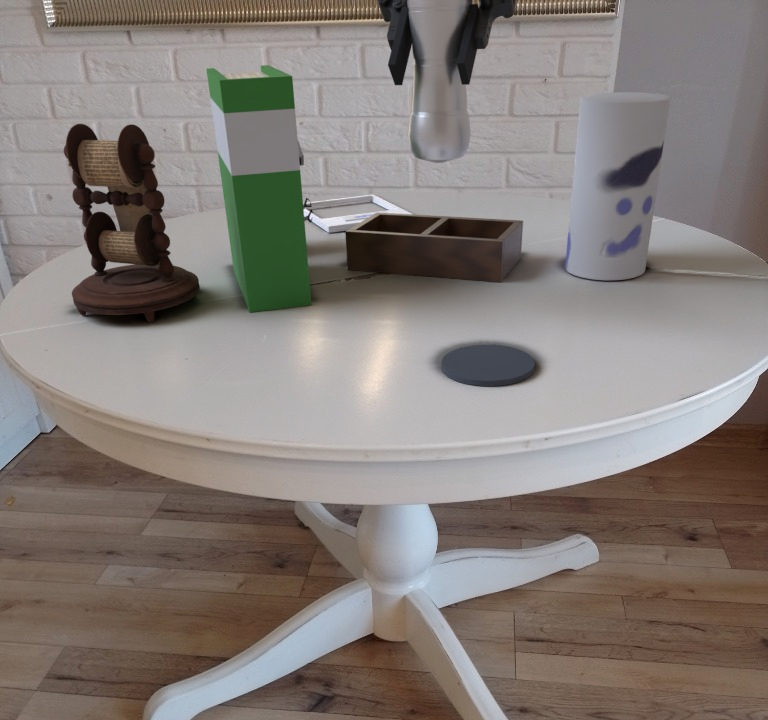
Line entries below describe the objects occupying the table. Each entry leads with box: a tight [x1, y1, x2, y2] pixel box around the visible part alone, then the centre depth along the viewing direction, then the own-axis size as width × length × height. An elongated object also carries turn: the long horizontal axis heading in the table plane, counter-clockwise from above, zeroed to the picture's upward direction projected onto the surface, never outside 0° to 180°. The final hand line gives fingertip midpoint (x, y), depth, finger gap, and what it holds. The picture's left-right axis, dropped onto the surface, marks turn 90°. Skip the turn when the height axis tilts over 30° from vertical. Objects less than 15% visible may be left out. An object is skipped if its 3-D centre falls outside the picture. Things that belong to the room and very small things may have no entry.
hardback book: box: [205, 64, 313, 313], centre depth 94 cm, size 18×7×24 cm, turn 15°
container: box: [564, 91, 671, 281], centre depth 97 cm, size 10×10×20 cm
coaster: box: [440, 344, 536, 387], centre depth 77 cm, size 9×9×1 cm
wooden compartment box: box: [344, 211, 524, 283], centre depth 106 cm, size 21×11×5 cm, turn 69°
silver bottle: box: [407, 0, 474, 164], centre depth 78 cm, size 6×7×20 cm
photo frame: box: [303, 194, 413, 234], centre depth 132 cm, size 15×1×18 cm
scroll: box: [63, 123, 201, 324], centre depth 91 cm, size 15×15×20 cm
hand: (428, 74), depth 76 cm, fingers closed on silver bottle, 6 cm apart
